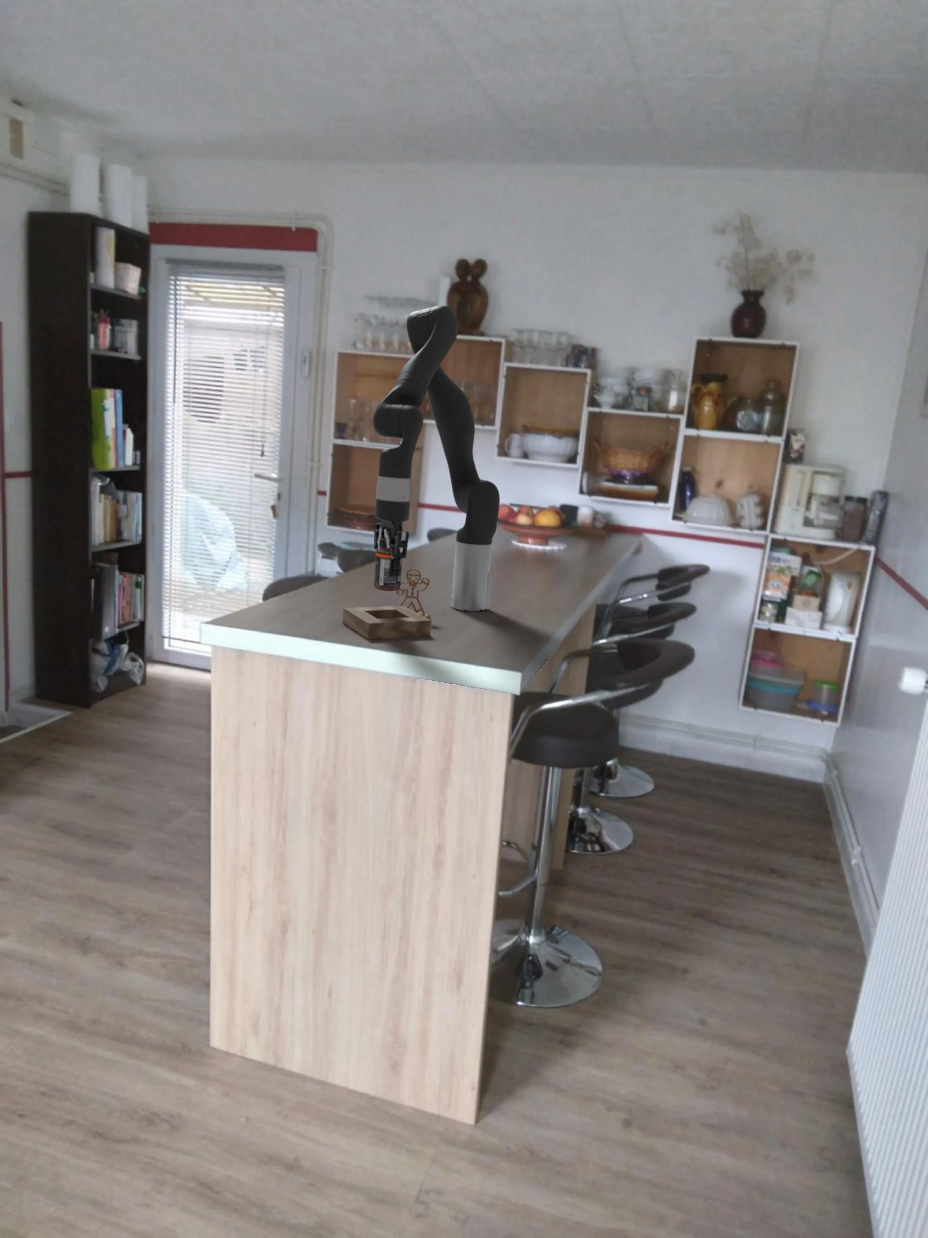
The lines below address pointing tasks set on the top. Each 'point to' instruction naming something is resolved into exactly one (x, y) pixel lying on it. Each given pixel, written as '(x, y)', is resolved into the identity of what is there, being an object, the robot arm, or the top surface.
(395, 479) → the robot arm
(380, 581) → the supplement bottle
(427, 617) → the gingerbread man figurine
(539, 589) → the top surface
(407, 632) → the brown wooden square frame
